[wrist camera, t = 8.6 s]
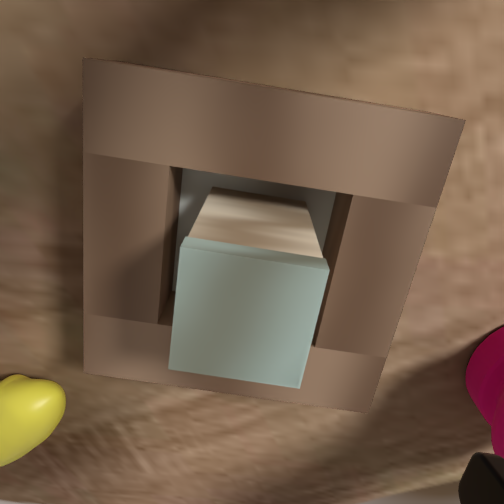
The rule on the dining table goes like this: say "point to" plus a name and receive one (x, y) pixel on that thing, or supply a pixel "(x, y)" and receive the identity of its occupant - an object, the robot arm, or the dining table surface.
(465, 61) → the dining table surface
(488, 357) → the pepper mill
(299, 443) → the dining table surface
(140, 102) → the socket block
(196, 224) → the peg
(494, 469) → the robot arm
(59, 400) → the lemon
